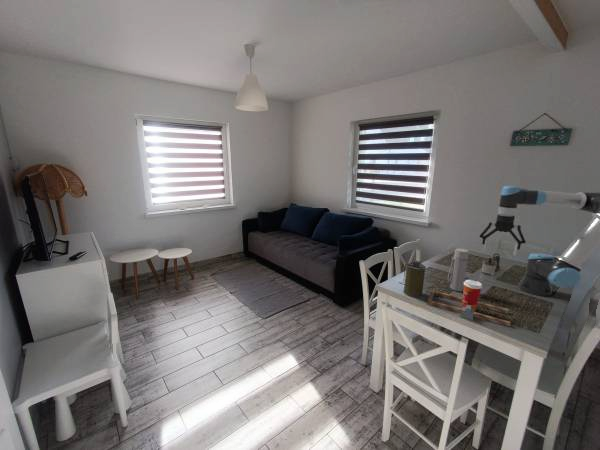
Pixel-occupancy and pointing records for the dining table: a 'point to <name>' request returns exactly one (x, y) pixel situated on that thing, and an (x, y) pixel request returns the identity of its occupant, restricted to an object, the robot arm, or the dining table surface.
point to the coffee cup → (471, 293)
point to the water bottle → (458, 269)
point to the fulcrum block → (467, 312)
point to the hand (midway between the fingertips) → (499, 252)
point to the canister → (414, 278)
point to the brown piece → (477, 315)
